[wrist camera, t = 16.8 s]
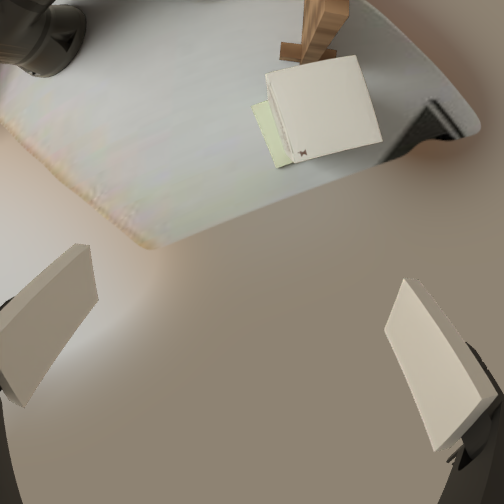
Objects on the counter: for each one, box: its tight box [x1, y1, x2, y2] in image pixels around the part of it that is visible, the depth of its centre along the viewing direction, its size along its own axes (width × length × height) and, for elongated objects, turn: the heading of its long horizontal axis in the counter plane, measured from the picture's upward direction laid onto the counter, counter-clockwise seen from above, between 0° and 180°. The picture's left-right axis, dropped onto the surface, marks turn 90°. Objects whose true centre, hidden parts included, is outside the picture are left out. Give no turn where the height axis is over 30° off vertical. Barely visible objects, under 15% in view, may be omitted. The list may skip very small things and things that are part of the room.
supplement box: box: [265, 55, 383, 163], centre depth 32 cm, size 10×9×17 cm
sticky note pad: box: [251, 100, 293, 168], centre depth 41 cm, size 10×12×1 cm
